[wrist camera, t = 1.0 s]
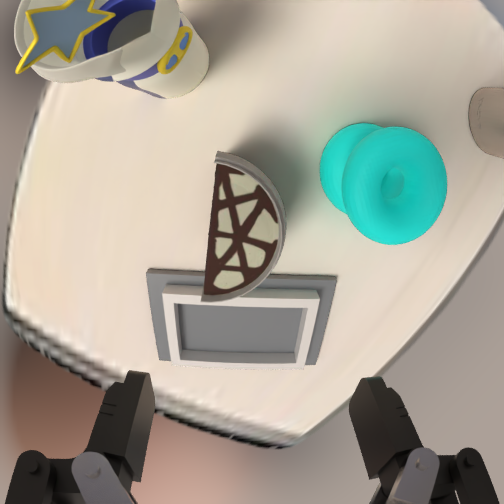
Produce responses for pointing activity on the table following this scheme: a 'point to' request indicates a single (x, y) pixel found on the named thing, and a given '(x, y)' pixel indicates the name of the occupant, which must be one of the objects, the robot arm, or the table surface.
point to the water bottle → (112, 44)
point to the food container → (241, 230)
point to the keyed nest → (240, 321)
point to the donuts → (384, 181)
